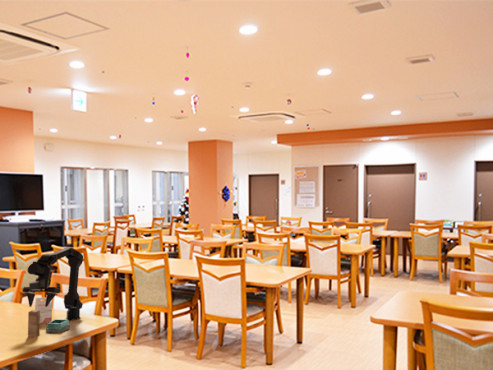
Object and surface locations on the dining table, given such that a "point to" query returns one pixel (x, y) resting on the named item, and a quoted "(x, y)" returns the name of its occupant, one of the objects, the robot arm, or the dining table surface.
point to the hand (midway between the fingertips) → (38, 306)
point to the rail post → (34, 323)
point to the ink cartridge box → (44, 310)
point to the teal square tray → (57, 326)
